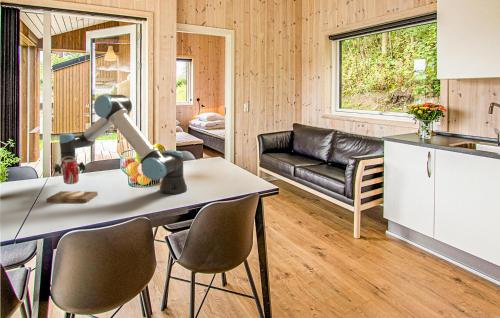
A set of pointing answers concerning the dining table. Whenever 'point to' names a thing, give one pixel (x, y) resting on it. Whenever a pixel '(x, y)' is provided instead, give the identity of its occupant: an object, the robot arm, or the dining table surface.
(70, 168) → the soda can
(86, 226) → the dining table surface
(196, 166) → the dining table surface
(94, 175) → the dining table surface
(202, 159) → the dining table surface
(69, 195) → the drinks board
